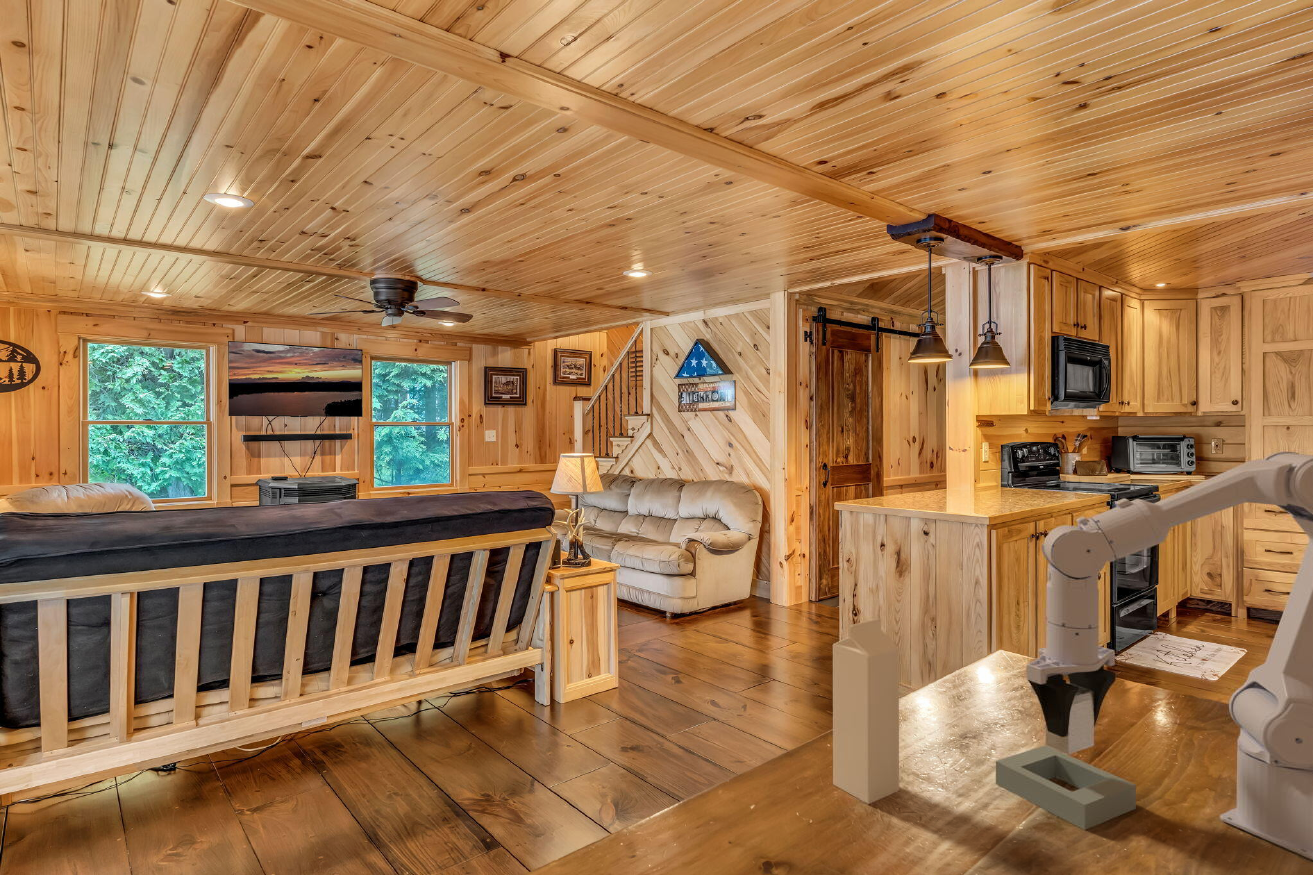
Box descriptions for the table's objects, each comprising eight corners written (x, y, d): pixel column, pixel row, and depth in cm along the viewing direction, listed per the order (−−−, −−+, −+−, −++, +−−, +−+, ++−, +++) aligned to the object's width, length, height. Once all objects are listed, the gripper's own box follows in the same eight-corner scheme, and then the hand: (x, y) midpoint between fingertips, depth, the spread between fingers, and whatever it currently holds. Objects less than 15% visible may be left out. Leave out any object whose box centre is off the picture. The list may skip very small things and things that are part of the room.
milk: (899, 791, 93) (901, 623, 92) (867, 805, 90) (869, 631, 89) (862, 772, 98) (863, 612, 97) (831, 784, 95) (832, 619, 94)
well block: (1135, 808, 88) (1135, 784, 88) (1084, 829, 84) (1084, 804, 84) (1045, 766, 99) (1045, 744, 99) (995, 783, 94) (995, 761, 94)
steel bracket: (1093, 745, 90) (1093, 690, 90) (1068, 754, 88) (1068, 698, 88) (1056, 730, 95) (1056, 678, 94) (1031, 738, 92) (1031, 684, 92)
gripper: (1077, 607, 97) (1077, 706, 97) (1004, 622, 90) (1004, 728, 91) (1131, 620, 90) (1130, 726, 91) (1057, 637, 84) (1056, 751, 84)
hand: (1071, 729), depth 90 cm, fingers closed on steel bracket, 5 cm apart
